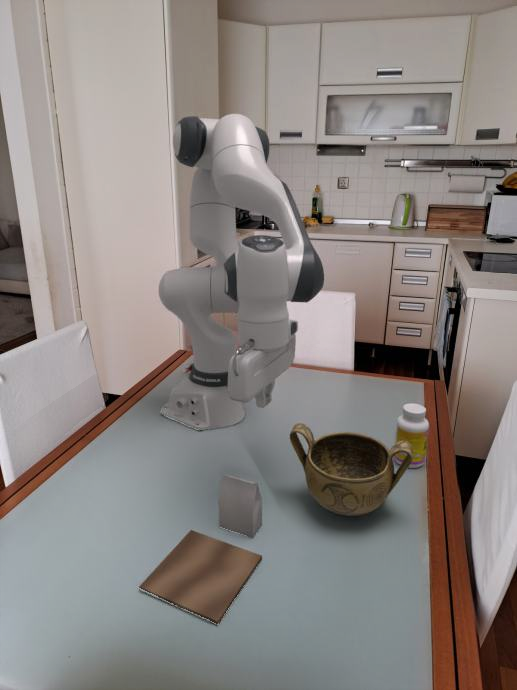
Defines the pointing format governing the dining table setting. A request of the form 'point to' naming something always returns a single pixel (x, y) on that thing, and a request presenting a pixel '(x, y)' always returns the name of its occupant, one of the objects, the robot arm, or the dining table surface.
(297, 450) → the ceramic bowl
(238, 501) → the white red-printed box
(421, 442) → the supplement bottle
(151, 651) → the dining table surface
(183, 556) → the walnut board
